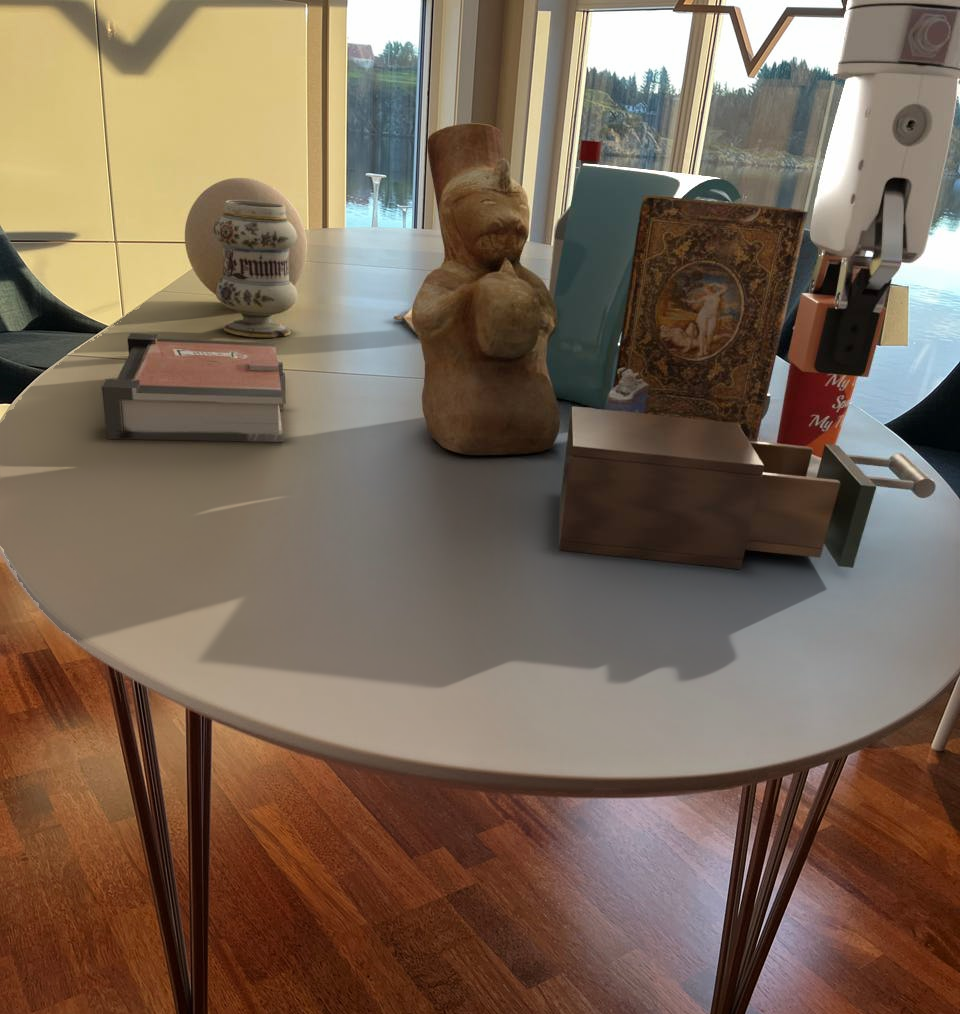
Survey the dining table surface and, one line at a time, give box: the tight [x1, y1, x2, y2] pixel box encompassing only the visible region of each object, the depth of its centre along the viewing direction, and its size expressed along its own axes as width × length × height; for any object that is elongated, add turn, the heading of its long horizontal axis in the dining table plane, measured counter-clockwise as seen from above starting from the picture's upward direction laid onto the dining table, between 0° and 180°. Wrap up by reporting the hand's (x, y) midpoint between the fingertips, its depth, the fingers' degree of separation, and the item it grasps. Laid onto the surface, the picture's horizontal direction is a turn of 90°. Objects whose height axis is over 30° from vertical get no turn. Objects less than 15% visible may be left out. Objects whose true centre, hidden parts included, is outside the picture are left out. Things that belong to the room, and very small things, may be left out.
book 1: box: [101, 332, 287, 443], centre depth 103 cm, size 26×18×5 cm
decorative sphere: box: [184, 177, 308, 296], centre depth 159 cm, size 20×20×20 cm
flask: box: [606, 367, 649, 413], centre depth 91 cm, size 9×3×11 cm, turn 158°
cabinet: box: [558, 405, 764, 570], centre depth 79 cm, size 15×13×9 cm
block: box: [787, 292, 887, 378], centre depth 63 cm, size 4×4×4 cm
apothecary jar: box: [214, 200, 298, 339], centre depth 140 cm, size 12×12×18 cm
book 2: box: [613, 195, 809, 442], centre depth 100 cm, size 16×6×25 cm, turn 82°
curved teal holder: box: [546, 164, 772, 420], centre depth 116 cm, size 26×28×28 cm
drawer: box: [745, 440, 937, 568], centre depth 79 cm, size 19×11×7 cm, turn 85°
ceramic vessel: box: [411, 122, 561, 456], centre depth 98 cm, size 16×22×30 cm
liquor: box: [547, 139, 603, 300], centre depth 168 cm, size 9×9×30 cm
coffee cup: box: [776, 326, 859, 458], centre depth 102 cm, size 8×8×15 cm
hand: (828, 362), depth 64 cm, fingers closed on block, 4 cm apart
